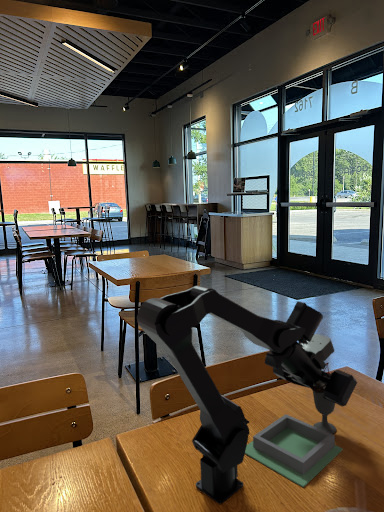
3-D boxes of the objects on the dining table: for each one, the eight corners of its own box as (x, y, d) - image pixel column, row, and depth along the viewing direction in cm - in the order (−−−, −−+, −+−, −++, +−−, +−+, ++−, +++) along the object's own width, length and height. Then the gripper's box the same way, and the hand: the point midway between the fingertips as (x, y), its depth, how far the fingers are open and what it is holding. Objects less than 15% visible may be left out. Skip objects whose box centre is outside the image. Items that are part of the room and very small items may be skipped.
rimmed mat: (303, 487, 69) (303, 473, 69) (240, 451, 80) (239, 438, 80) (342, 449, 79) (342, 437, 78) (281, 422, 90) (281, 410, 90)
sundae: (335, 420, 90) (335, 359, 88) (344, 437, 83) (343, 371, 81) (307, 420, 90) (306, 359, 88) (313, 436, 84) (312, 371, 82)
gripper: (351, 338, 74) (383, 376, 81) (280, 317, 89) (312, 350, 96) (325, 388, 70) (360, 423, 78) (256, 357, 86) (291, 389, 93)
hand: (328, 392), depth 86 cm, fingers closed on sundae, 6 cm apart
